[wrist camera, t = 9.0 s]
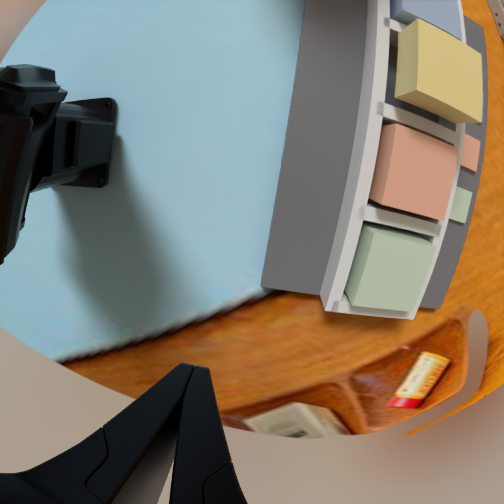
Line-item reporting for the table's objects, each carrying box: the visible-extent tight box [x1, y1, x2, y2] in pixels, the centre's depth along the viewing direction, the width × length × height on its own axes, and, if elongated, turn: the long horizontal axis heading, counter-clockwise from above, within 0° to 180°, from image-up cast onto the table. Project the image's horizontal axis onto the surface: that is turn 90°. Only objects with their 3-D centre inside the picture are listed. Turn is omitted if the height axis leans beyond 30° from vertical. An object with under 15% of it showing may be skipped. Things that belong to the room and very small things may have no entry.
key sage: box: [344, 222, 436, 312], centre depth 16 cm, size 4×4×3 cm
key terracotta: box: [368, 124, 458, 221], centre depth 14 cm, size 4×4×3 cm
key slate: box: [390, 0, 462, 41], centre depth 10 cm, size 4×4×3 cm
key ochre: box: [394, 18, 483, 124], centre depth 10 cm, size 4×4×3 cm
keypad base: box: [261, 0, 488, 320], centre depth 14 cm, size 15×25×3 cm, turn 172°
